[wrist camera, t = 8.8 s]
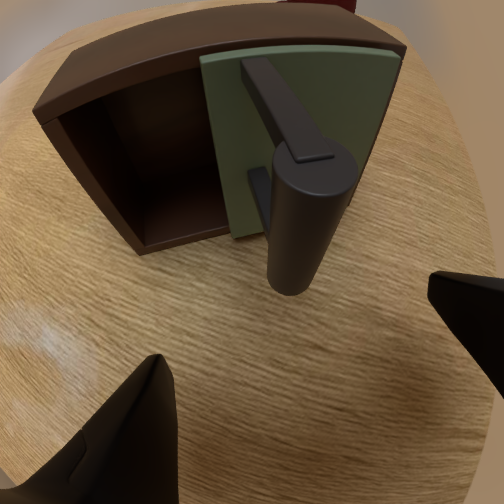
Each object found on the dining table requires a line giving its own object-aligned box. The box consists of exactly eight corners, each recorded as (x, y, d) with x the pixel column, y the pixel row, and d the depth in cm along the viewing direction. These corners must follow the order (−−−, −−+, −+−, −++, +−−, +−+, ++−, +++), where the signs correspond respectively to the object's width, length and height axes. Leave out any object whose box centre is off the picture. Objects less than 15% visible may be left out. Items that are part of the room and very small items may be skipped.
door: (378, 292, 14) (504, 164, 5) (256, 330, 14) (245, 207, 4) (340, 205, 17) (392, 50, 7) (229, 230, 16) (198, 55, 7)
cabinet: (349, 205, 18) (408, 46, 7) (138, 256, 16) (30, 111, 6) (315, 145, 20) (337, 5, 10) (136, 185, 19) (71, 51, 9)
